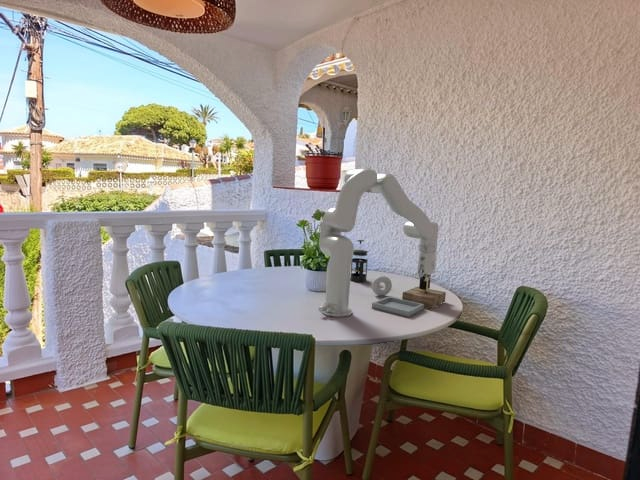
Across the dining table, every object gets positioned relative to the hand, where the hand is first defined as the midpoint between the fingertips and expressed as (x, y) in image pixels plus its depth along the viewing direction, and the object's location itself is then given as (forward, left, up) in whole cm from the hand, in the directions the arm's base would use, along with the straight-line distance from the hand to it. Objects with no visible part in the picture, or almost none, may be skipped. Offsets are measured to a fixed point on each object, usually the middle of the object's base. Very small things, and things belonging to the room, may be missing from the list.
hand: (424, 288), depth 176 cm
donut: (-4, +20, -7) cm, 21 cm away
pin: (0, 0, -6) cm, 6 cm away
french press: (+15, +45, -7) cm, 48 cm away
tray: (-18, +4, -7) cm, 20 cm away
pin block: (0, 0, -7) cm, 7 cm away
